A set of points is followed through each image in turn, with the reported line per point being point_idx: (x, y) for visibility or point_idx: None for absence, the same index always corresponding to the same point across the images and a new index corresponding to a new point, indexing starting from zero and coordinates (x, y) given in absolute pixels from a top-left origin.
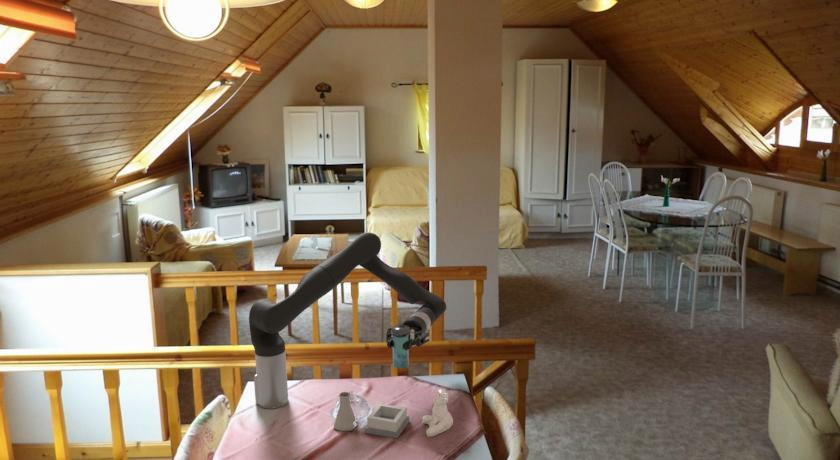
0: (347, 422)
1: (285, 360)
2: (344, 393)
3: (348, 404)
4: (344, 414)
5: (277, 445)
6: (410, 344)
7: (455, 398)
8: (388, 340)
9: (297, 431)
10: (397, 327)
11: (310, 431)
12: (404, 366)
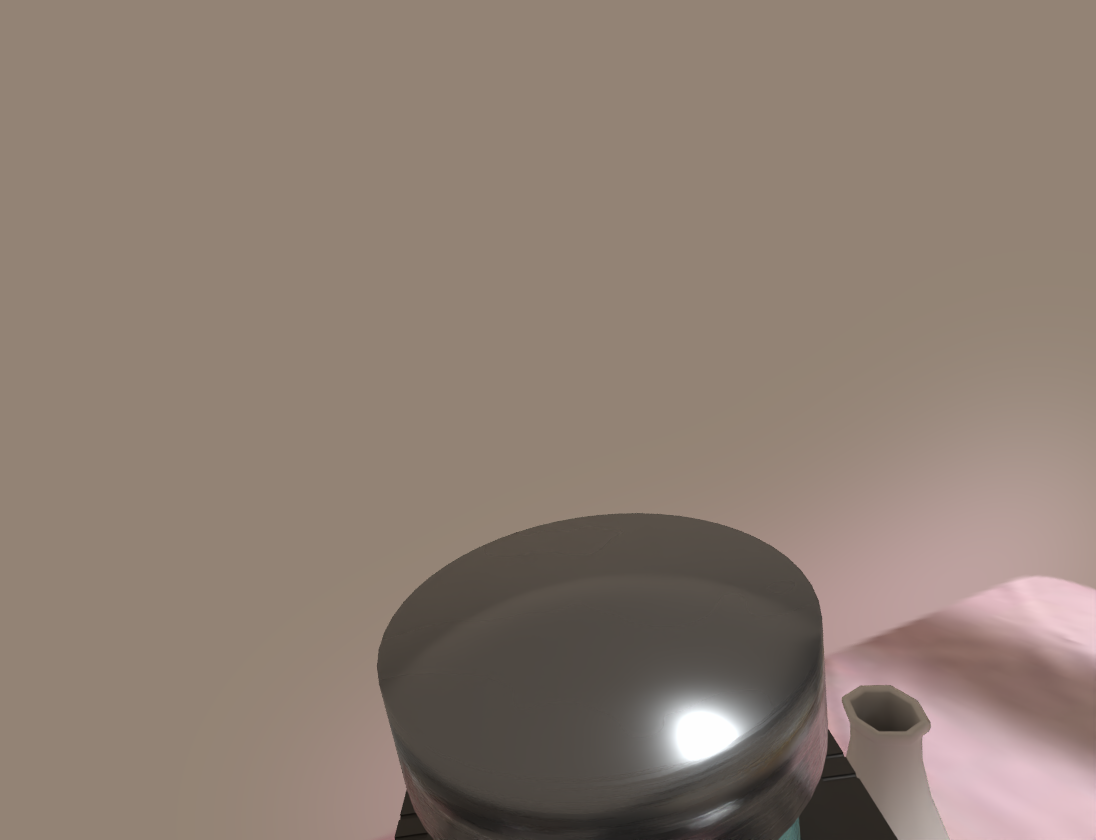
0: None
1: None
2: (912, 732)
3: (851, 760)
4: None
5: (952, 646)
6: (406, 801)
7: None
8: (835, 761)
9: (1019, 734)
10: (664, 598)
11: (972, 758)
12: None
